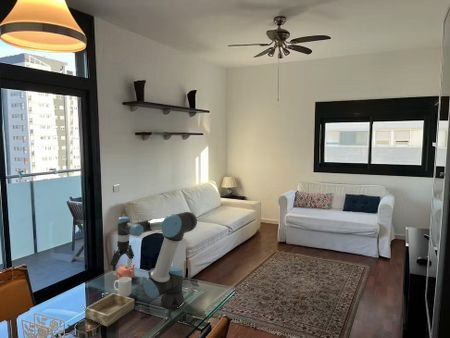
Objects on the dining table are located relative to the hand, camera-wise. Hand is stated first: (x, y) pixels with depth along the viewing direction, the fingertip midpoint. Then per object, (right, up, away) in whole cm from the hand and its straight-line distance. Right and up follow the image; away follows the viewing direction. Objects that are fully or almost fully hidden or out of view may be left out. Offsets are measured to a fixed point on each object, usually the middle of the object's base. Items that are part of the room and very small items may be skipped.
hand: (122, 271), depth 214 cm
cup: (-1, -15, +1) cm, 16 cm away
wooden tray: (0, -17, -23) cm, 29 cm away
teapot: (-5, -13, +24) cm, 28 cm away
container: (+19, -15, +19) cm, 31 cm away
